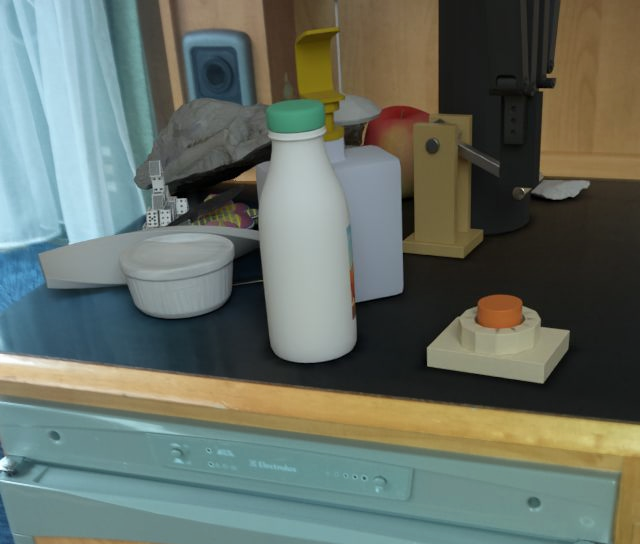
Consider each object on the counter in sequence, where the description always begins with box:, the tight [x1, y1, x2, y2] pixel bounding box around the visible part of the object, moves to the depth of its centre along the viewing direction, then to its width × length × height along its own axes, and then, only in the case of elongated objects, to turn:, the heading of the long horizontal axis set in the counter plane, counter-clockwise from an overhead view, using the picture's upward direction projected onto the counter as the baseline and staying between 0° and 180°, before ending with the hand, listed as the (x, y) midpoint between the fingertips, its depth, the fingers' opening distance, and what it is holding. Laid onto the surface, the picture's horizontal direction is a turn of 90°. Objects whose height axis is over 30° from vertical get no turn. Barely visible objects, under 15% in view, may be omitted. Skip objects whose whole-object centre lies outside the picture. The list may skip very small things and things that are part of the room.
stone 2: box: [530, 179, 591, 201], centre depth 119 cm, size 6×8×2 cm
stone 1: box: [133, 97, 272, 193], centre depth 122 cm, size 15×28×10 cm, turn 50°
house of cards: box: [141, 161, 192, 230], centre depth 117 cm, size 9×9×8 cm
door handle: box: [37, 224, 260, 290], centre depth 104 cm, size 26×5×5 cm
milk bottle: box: [257, 98, 358, 364], centre depth 83 cm, size 8×8×20 cm
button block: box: [426, 305, 571, 384], centre depth 84 cm, size 10×7×4 cm
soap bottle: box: [255, 26, 404, 304], centre depth 91 cm, size 12×7×23 cm, turn 109°
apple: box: [362, 105, 431, 200], centre depth 121 cm, size 10×10×10 cm
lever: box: [433, 119, 545, 201], centre depth 101 cm, size 12×6×2 cm, turn 62°
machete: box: [165, 185, 245, 227], centre depth 113 cm, size 15×3×1 cm, turn 113°
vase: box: [437, 0, 531, 236], centre depth 105 cm, size 10×10×30 cm
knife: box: [232, 276, 263, 286], centre depth 104 cm, size 10×2×1 cm, turn 96°
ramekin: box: [119, 233, 235, 320], centre depth 98 cm, size 11×11×5 cm
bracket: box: [402, 113, 484, 259], centre depth 105 cm, size 7×6×13 cm
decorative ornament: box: [177, 193, 259, 230], centre depth 115 cm, size 17×2×10 cm
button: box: [477, 294, 523, 329], centre depth 82 cm, size 4×4×2 cm
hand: (519, 184), depth 77 cm, fingers closed
